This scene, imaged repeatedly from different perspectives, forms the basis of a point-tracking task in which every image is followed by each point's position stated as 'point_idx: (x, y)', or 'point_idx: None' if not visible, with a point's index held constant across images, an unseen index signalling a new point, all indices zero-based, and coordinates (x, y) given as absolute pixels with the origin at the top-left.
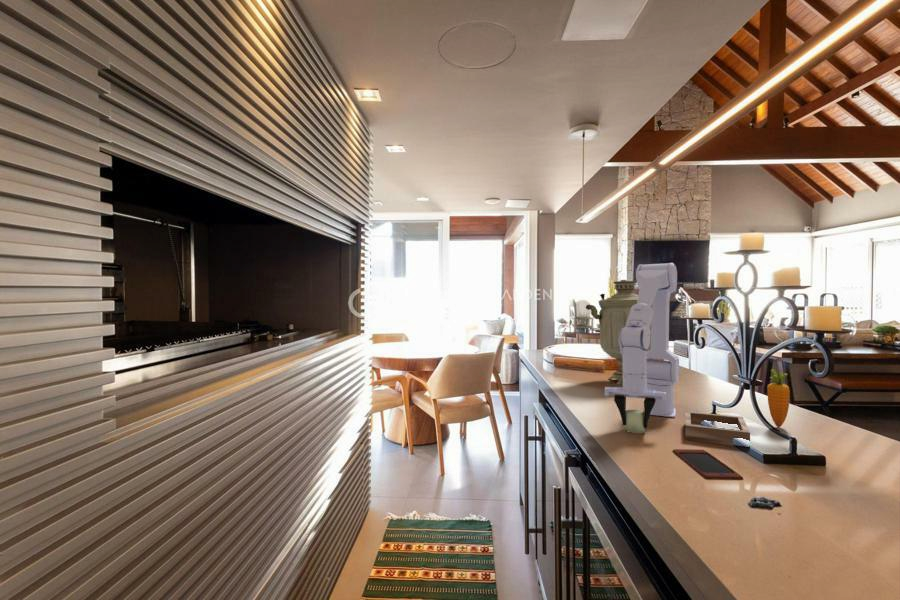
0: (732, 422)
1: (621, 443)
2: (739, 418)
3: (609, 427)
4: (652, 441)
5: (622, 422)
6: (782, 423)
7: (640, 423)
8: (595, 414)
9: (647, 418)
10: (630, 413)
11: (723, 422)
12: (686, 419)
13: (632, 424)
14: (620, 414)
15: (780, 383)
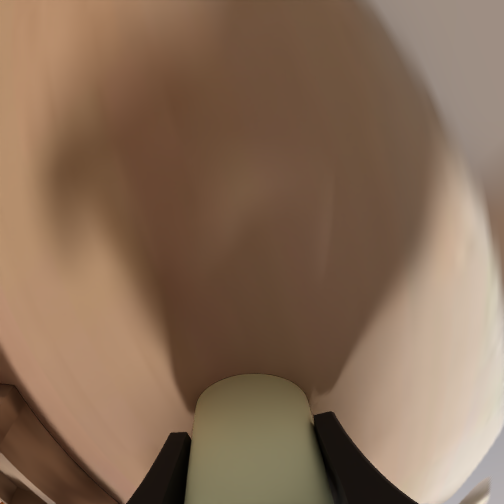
0: (20, 498)
1: (250, 79)
2: (2, 500)
3: (403, 384)
4: (79, 282)
5: (339, 423)
6: None
7: (198, 446)
8: (443, 461)
9: (144, 484)
10: (281, 500)
11: (36, 502)
12: (46, 497)
13: (256, 423)
14: (373, 466)
15: None
